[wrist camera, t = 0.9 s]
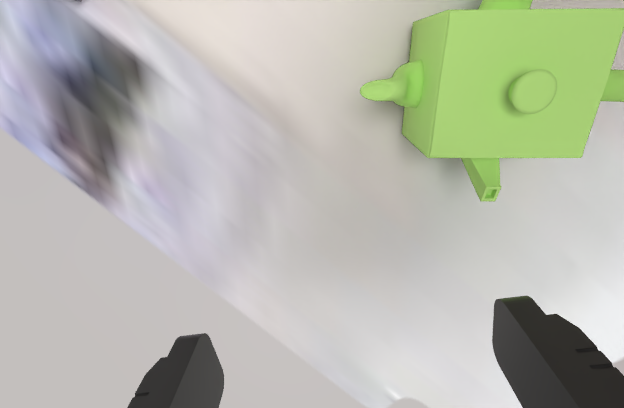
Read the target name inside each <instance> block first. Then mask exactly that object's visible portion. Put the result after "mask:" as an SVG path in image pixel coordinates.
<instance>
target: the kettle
mask: <svg viewBox="0 0 624 408" xmlns="http://www.w3.org/2000/svg"><path fill="white" fill-rule="evenodd" d="M531 3H532V0H483V1H482V3H481V5H480V6H479V8H478V10H446V11H443V12H440V13H438V14H435V15H432V16H429V17H426V18H423V19H421V20H418V21H415V22H413V28H412V38H411V48H410V58H409V63H406V64H403V65H402V66H400V67H399V68H398V69H397V70H396V71H395V73H394V74H393V76H392V78H390V79H384V80H375V81H371V82H368V83H366V84H365V85H363V86H362V87H361V89H360V93H361V95H362V96H363V97H364V98H366V99H369V100H374V101H393V102H394V103H396V104H397V105H400V106H404V116H403V125H402V134H403V135H404V136H405V137H406V138H407V139H408V140H409V141H410V142H411V143H412V144H413V145H414V146H416V147H417V148H418V149H419V150H420V151H421V152H422V153H423V154H424V155H425V156H426V157H427V158H461V159H462V162H463V164H464V166H465V168H466V170H467V173H468V175H469V177H470V179H471V181H472V184H473V186H474V188H475V190H476V192H477V195H478V197H479V199H480V201H495V200H496V198H497V196H498V194H499V191H500V189H501V186H500V167H499V158H581V157H582V155H583V151H584V148H585V145H586V142H587V139H588V136H589V133H590V130H591V128H592V125H593V122H594V119H595V116H596V113H597V110H598V107H599V104H600V101H617V102H624V70H611V67H612V64H613V61H614V58H615V55H616V52H617V48H618V45H619V42H620V39H621V36H622V33H623V29H624V8H611V9H530V6H531Z"/></svg>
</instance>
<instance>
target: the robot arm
mask: <svg viewBox="0 0 624 408" xmlns="http://www.w3.org/2000/svg"><path fill="white" fill-rule="evenodd" d="M492 342H493V349H494V353H495V356H496V359H497V362H498V364H499V366H500V368H501V370H502V371H503V373H504V375H505V377H506V378H507V380H508V382H509V384H510V386H511V387H512V389H513V391H514V393H515V394H516V396H517V398H518V400H519V401H520V403H521V405H522V407H523V408H624V376H623V374H622V373H621V372H620V371H619V370H618V369H617V368H614V367H613V366H612V363H611V362H610V361H609V359H608V358H607V357H606V356H605V355H604V354H603V353H602V352H601V351H598V349H597V347H596V345H595V344H594V343H593V342H592V341H591V340H590V339H589V338H588V337H587V336H586V335H585V334H584V333H583V332H582V330H581V329H580V328H578V327H577V326H575V325H573V324H572V323H570V322H569V321H567V320H565V319H564V318H562V317H561V316H559V315H557V314H551V315H546V314H545V313H544V312H543V311H542V310H541V309H540V307H539V306H538V305H537V304H536V303H535V301H534V300H533V299H532V298H530V297H529V296H520V297H511V298H503V299H497V300H496V301H495V304H494V320H493V339H492ZM223 389H224V374H223V369H222V367H221V364H220V362H219V359H218V357H217V355H216V352H215V350H214V347H213V345H212V342H211V340H210V338H209V336H208V335H207V334H205V333H204V334H196V335H187V336H180V337H178V338H177V339H176V341H175V343H174V345H173V347H172V349H171V351H170V353H169V355H168V357H165V358H160V360H159V361H158V362H157V363H156V364H155V365H154V366H153V367H152V368H151V369H150V370H149V371H148V372H147V374H146V375H145V376H144V378H143V380H142V382H141V384H140V385H139V387H138V389H137V391H136V393H135V397H134V398H132V400H131V402H130V404H129V406H128V408H219V404H220V400H221V397H222V393H223Z"/></svg>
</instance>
